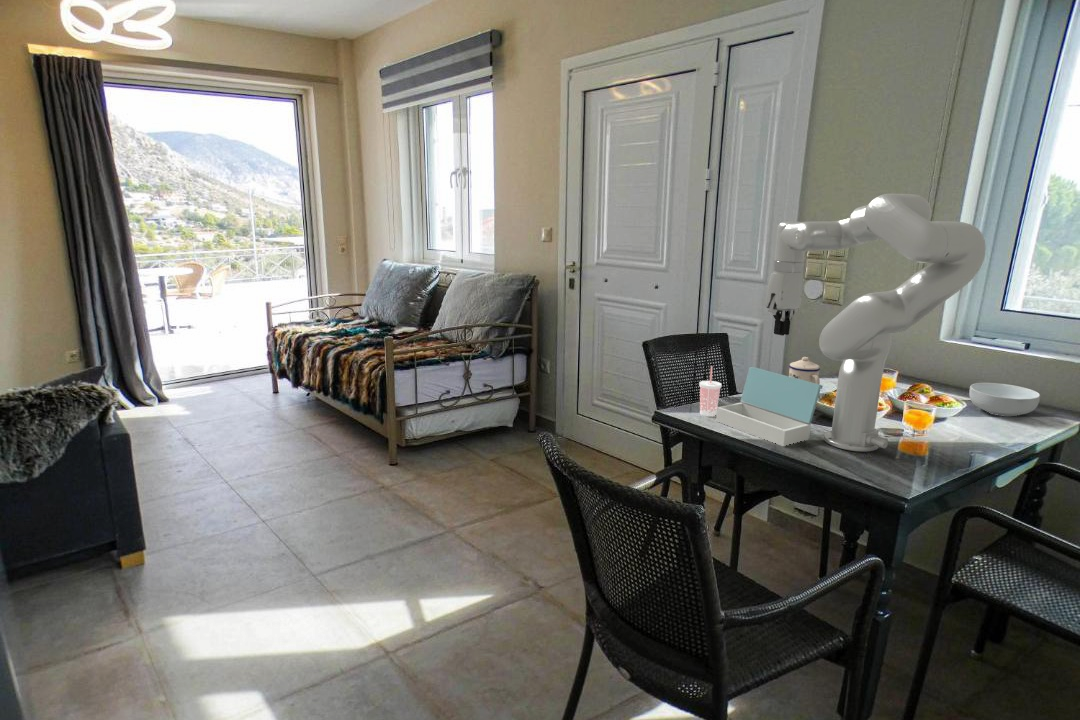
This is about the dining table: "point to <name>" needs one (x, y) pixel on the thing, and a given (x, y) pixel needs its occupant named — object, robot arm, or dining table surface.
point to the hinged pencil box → (763, 423)
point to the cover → (781, 394)
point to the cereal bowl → (1003, 398)
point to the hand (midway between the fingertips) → (781, 334)
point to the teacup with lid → (805, 370)
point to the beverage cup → (709, 396)
